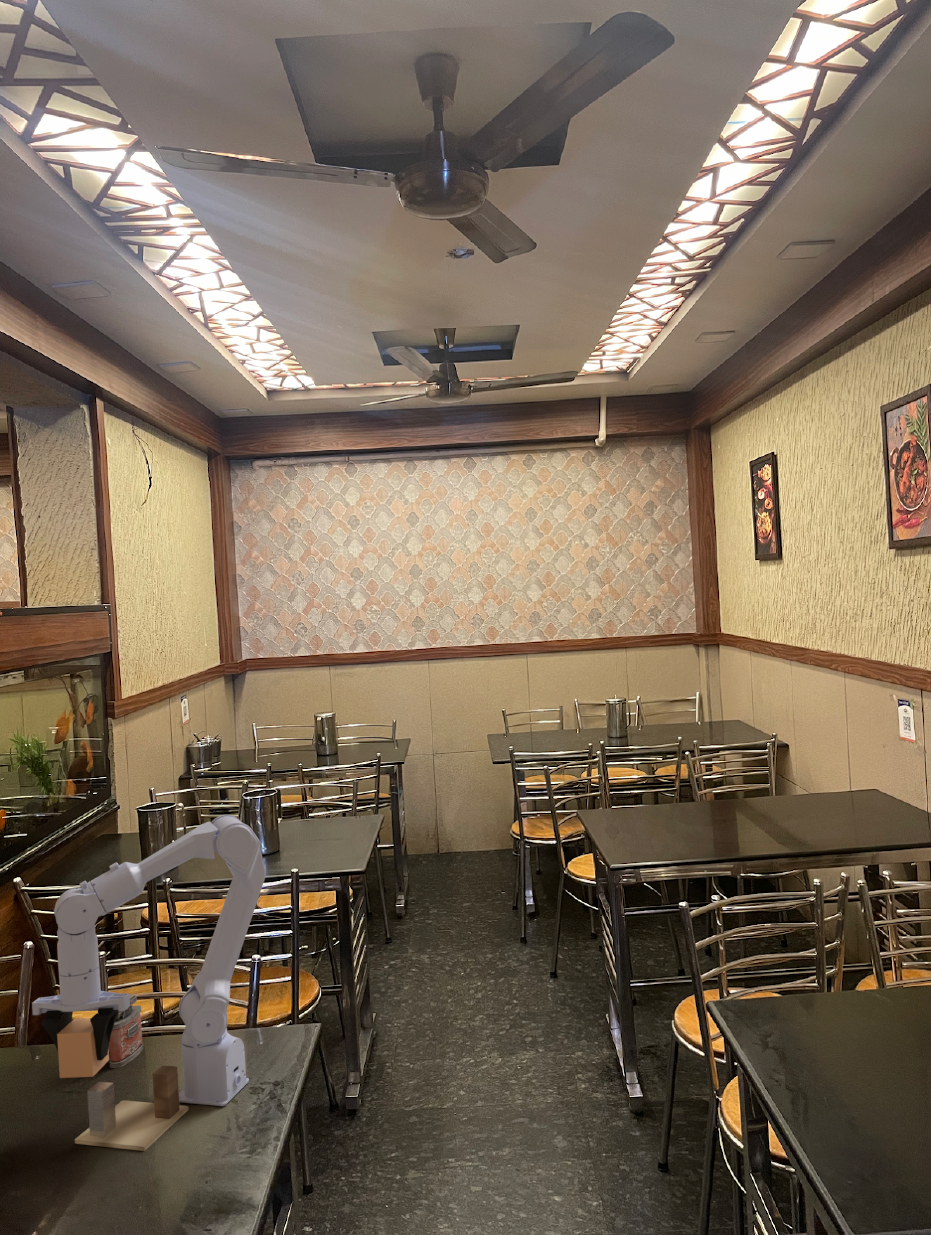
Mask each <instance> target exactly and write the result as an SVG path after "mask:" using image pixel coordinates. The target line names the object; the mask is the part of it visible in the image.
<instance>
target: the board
mask: <svg viewBox="0 0 931 1235" xmlns="http://www.w3.org/2000/svg"><path fill="white" fill-rule="evenodd" d="M179 1107H180V1110H179V1111H178V1112H177V1113H176V1114H175V1115H174V1116H173V1117H172V1118H170V1119H163V1118H155V1108H154V1102H146V1101H145V1102H144V1101H135V1100H125V1099H124V1100H123V1099H122V1100H121V1101H119V1103H117V1104H115V1116H116V1128H115V1129H114V1130H113V1131H112V1132H110V1133H109V1134H108V1135H107V1136H106V1137H96V1136H90V1128H89V1127H88V1128H87V1129H86V1130H84V1131H83V1132H81V1134H80V1135H78V1136H77V1137H76V1138H75V1139H74V1144H77V1145H86V1146H94V1147H95V1146H96V1147H104V1148H105V1147H106V1148H111V1149H123V1150H130V1151H131V1150H133V1151H141V1152H146V1150H148V1148H150V1147H151V1146H152V1145H153V1144H154V1143H155V1142H156V1141H157V1140H158V1139H159V1138H160V1137H162V1135H163V1134H164V1133H166V1132H167V1131H168V1130H169V1128H171V1127H172V1126H173V1125H174V1124H176V1123H177V1122H178V1120H179V1119H181V1117H182V1116H184V1115H185V1114H186V1113H187V1112H188V1111H189V1106H187V1105H180V1104H179Z"/></svg>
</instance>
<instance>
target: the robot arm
mask: <svg viewBox="0 0 931 1235" xmlns="http://www.w3.org/2000/svg"><path fill="white" fill-rule="evenodd" d="M215 852H216V853H217V854H218V855H219V857H221V858H222V859H223V860H224V863H225V865H226V866H227V868H228V870H229V872H230V873H231V875H232V879H231V882H230V885H229V888H228V890H227V894H226V897H225V899H224V902H223V906H222V909H221V912H220V914H219V917H218V920H217V922H216V926H215V929H214V932H213V935H212V938H211V940H210V943H209V946H208V950H207V952H206V955H205V958H204V960H203V963H202V967H201V969H200V971H199V972H198V973H197V974H196V976H194V978H193V981H192V984H191V985H190V987H189V989H188V990H187V991H186V992H185V994H184V995H183V996H182V997H181V999H180V1000H179V1005H178V1014H179V1017H180V1018H181V1020H182V1021H183V1023H184V1025H185V1026H184V1027H185V1028H184V1030H183V1033H182V1034H181V1036H180V1043H181V1047H180V1048H181V1064H182V1075H183V1077H182V1078H183V1080H182V1081H183V1089H181V1090H180V1091H179V1103H185V1104H196V1105H207V1106H208V1105H209V1106H217V1107H219V1106H220V1107H224V1106H227V1104H228V1103H229V1102H230V1101H231V1100H232V1099H233V1098H234V1097H235V1096H236V1095H237V1094H239V1092H240V1091H241V1090H242V1089H244V1087H245V1086H246V1085H247V1084H248V1083H249V1082H250V1081H249V1080H250V1079H249V1078H248V1077H247V1070H246V1069H247V1068H246V1053H245V1051H246V1050H245V1045H244V1041H243V1040H242V1039H241V1038H240V1037H236V1036H233V1035H232V1034H230V1033H229V1032H228V1028H227V1027H228V1023H229V1022H228V1021H229V1018H228V1006H229V1003H230V1000H231V998H230V997H231V981H232V977H233V974H234V971H235V968H236V966H237V963H238V960H239V956H240V953H241V951H242V947H243V945H244V942H245V939H246V935H247V933H248V929H249V926H250V923H251V921H252V918H253V914H254V911H255V909H256V906H257V903H258V900H259V897H260V894H261V892H262V888H263V885H264V883H265V879H266V868H265V864H264V859H263V855H262V850H261V841H260V839H259V838H258V836H257V835H256V833H255V832H254V831H253V829H252V828H251V826H249V825H248V824H246V823H243V822H242V821H241V819H239V818H238V817H236V816H234V815H233V814H222V815H219V816H217V817H214V819H212V821H207V822H204V823H201V824H200V825H199V826H197V827H195V828H194V829H192V830H190V831H189V832H187V833H186V834H184V835H182V836H180V837H179V838H177V839H176V840H174V841H173V842H171V843H170V844H167V845H165V846H164V847H162V848H161V849H159V850H158V851H156V852H154V853H153V854H151V855H149V856H148V857H146V858H144V859H143V860H141V861H139V862H138V863H133V862H128V861H124V862H122V863H120V864H119V863H118V862H114V863H112V864H111V865H109V870H107V871H106V872H104V873H102V874H100V875H99V876H97V877H95V878H93V879H92V880H90V881H88V882H87V881H86V880H84V881H82V882H80V883H79V887H78V888H75V887H74V888H70V889H68V890H66V891H64V892H63V893H62V894H60V895H59V898H58V899H57V900H56V902H55V905H54V909H53V913H54V917H55V922H56V924H57V927H58V928H57V931H56V933H57V934H56V935H57V936H56V937H57V940H58V941H57V945H56V946H57V948H56V949H57V966H58V968H57V969H58V979H59V980H58V981H59V982H58V983H59V994H57V995H52V996H44V997H43V996H42V997H38V998H37V999H35V1000H34V1001H33V1002H31V1005H32V1007H31V1008H32V1010H31V1011H32V1016H40V1015H41V1014H45V1016H44V1017H45V1018H43V1019H42V1020H41V1026H42V1028H44V1030H45V1032H47V1033H48V1035H49V1036H50V1039H52V1041H53V1044H54V1046H55V1048H56V1051H57V1052H58V1039H57V1034H58V1033H59V1032H60V1031H61V1030H62V1029H64V1028H65V1027H66V1026H67V1025H68V1024H69V1023H70V1022H72V1021H73V1012H93V1011H97V1013H95V1014H94V1015H93V1016H91V1017H90V1018H91V1019H90V1022H91V1024H92V1027H93V1030H94V1035H95V1041H96V1055H97V1060H98V1061H99V1060H103V1059H104V1058H105V1057H106V1056H107V1055H108V1048H109V1049H110V1037H111V1033H112V1030H113V1027H114V1024H115V1021H116V1018H117V1016H118V1014H119V1012H120V1011H125V1010H126V1009H127V1008H128V1007H129V1006H130V993H119V992H113V991H112V992H111V991H106V990H101V975H100V974H101V973H100V972H101V970H100V960H99V959H100V958H99V945H98V944H99V942H98V941H99V940H98V934H96V922H97V921H98V918H99V917H102V916H105V915H108V914H109V913H111V912H112V911H114V910H116V909H118V908H119V907H121V906H123V905H125V904H126V903H128V902H130V901H132V900H133V899H135V898H137V897H138V896H140V895H142V894H143V891H144V889H145V887H146V885H147V883H148V882H150V881H151V880H154V879H155V878H157V877H159V876H161V875H163V874H165V873H167V872H169V871H170V870H172V869H175V868H177V867H179V866H180V865H182V864H185V863H186V862H188V861H189V860H192V859H196V858H197V859H208V860H215V858H216V856H215Z"/></svg>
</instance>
